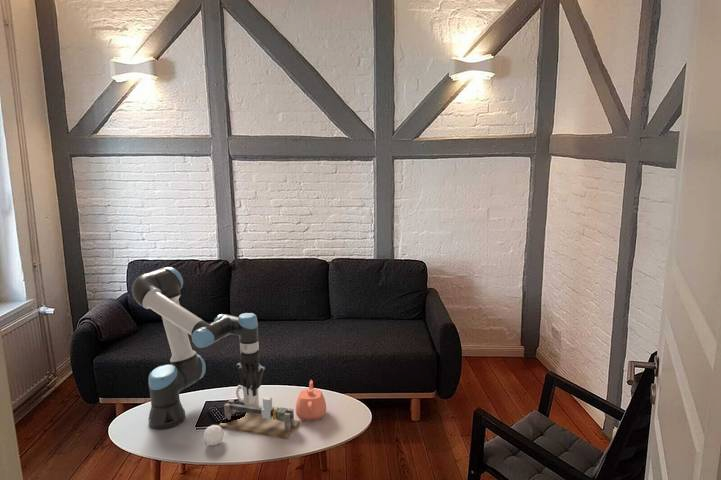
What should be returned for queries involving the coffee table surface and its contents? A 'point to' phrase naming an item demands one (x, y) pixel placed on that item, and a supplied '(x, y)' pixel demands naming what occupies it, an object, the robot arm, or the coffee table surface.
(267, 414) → the white stepped block
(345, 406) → the coffee table surface
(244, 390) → the mug
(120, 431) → the coffee table surface
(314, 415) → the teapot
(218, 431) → the geometric ball
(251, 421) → the din rail terminal board
